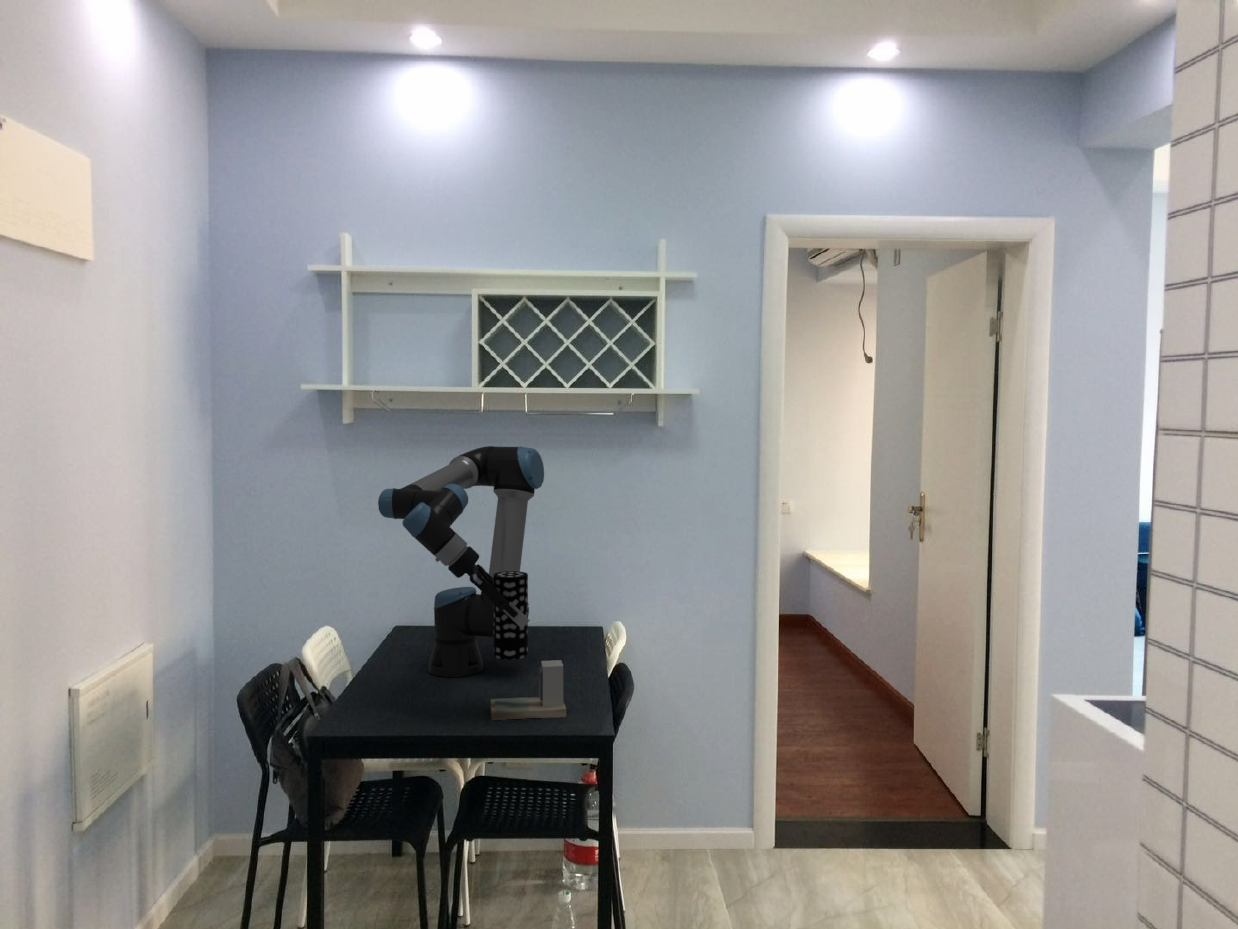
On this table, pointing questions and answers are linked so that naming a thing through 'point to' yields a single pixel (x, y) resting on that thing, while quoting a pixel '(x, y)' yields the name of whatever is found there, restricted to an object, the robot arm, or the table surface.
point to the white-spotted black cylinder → (506, 632)
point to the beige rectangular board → (524, 709)
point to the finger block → (551, 683)
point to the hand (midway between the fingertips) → (524, 619)
